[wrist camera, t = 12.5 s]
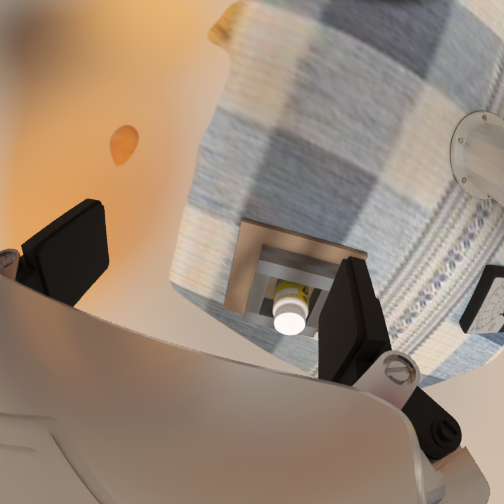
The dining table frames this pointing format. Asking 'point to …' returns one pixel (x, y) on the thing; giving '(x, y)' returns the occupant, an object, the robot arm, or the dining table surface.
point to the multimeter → (486, 304)
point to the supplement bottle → (290, 307)
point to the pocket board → (278, 240)
